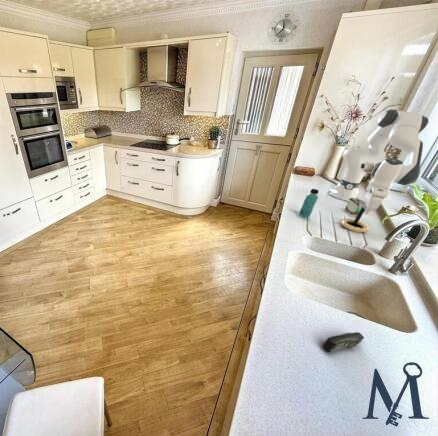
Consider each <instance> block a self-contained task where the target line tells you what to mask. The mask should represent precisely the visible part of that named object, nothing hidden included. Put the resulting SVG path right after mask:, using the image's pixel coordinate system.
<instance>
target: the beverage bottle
mask: <svg viewBox="0 0 438 436" xmlns="http://www.w3.org/2000/svg"><path fill="white" fill-rule="evenodd" d="M309 192H310V193H308V194H306V197H305V198H304V201H303V203H302V205H301V207H300V209H299V212H298V215H299V216H300V217H303V218H307V219H308V218H310V216H311V214H312V212H313V210H314V207H315V205H316V203H317V201H318V199H319V196H318V194H319V189H316V188H311V189H310V190H309Z"/></svg>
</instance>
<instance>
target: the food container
mask: <svg viewBox="0 0 438 436" xmlns="http://www.w3.org/2000/svg"><path fill="white" fill-rule="evenodd" d="M356 198H357V197H356ZM356 198H351V197H350V198H349V201H347V203H346V205H345V208H344V210H345V211H346V212H347V213H348V214H350V215H351V217H357V215H358V213H359V211H360V210H361V208H362V206H363V205H364V203H365V201H363V200H361V199H359V198H357V199H356Z"/></svg>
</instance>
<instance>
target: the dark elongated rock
mask: <svg viewBox="0 0 438 436" xmlns="http://www.w3.org/2000/svg"><path fill="white" fill-rule="evenodd" d="M364 338H365V337H364V335H363V334H361V332H359V331H355V332H344V333H341V334H337V335H333V336H330V337H327V338H326V340H325V341H324V342H323V344H322V348H323V349H324V351H325V352H326V353H331V352H335V351H338V350H341V349H350V348H351V349H352V348H354V347H356V346H357V345H359V344H360V343H361V342H362V341H363V340H364Z"/></svg>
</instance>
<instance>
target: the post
mask: <svg viewBox="0 0 438 436" xmlns="http://www.w3.org/2000/svg"><path fill="white" fill-rule="evenodd" d="M365 210H366V209H363V206H362V208H361V210H360V211H359V213H358V215H356V216H355V219H354V222H353V223H349V222H346V223H347V224H349V225H351V226H353V227H357V228H363V227H361V226H359V225H357V223H358V221H361V218H362V216H363V215H364V211H365ZM342 226H343V225H342ZM343 229H346V230H349V229H348V228H346V227H344V226H343ZM360 233H361V234H364V233H365V232H360Z"/></svg>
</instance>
